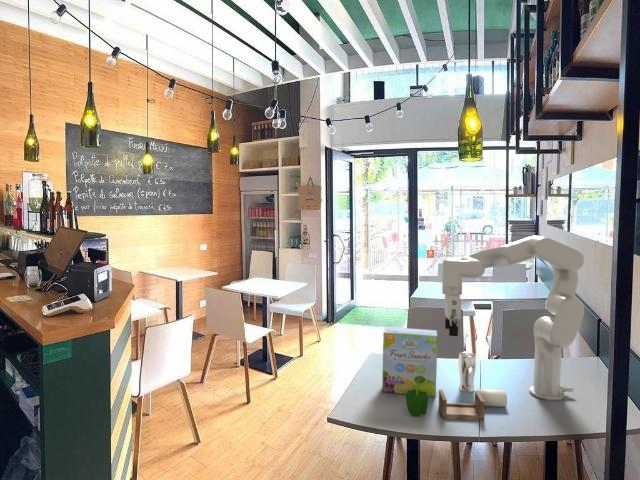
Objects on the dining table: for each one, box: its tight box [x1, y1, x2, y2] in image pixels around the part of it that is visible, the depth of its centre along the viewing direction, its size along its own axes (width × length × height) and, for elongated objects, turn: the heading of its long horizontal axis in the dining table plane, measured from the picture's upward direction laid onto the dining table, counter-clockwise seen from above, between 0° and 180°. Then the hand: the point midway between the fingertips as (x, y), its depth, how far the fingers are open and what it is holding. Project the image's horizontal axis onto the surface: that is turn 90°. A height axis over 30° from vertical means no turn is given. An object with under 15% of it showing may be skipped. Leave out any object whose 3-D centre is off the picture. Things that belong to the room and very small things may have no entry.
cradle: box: [438, 389, 486, 421], centre depth 163 cm, size 14×9×7 cm, turn 84°
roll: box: [475, 388, 508, 408], centre depth 170 cm, size 10×6×6 cm, turn 84°
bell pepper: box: [405, 385, 430, 417], centre depth 164 cm, size 8×8×10 cm
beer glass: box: [457, 351, 477, 393], centre depth 184 cm, size 7×7×15 cm
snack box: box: [381, 326, 438, 398], centre depth 182 cm, size 22×9×26 cm, turn 77°
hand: (451, 332), depth 177 cm, fingers open, 9 cm apart
